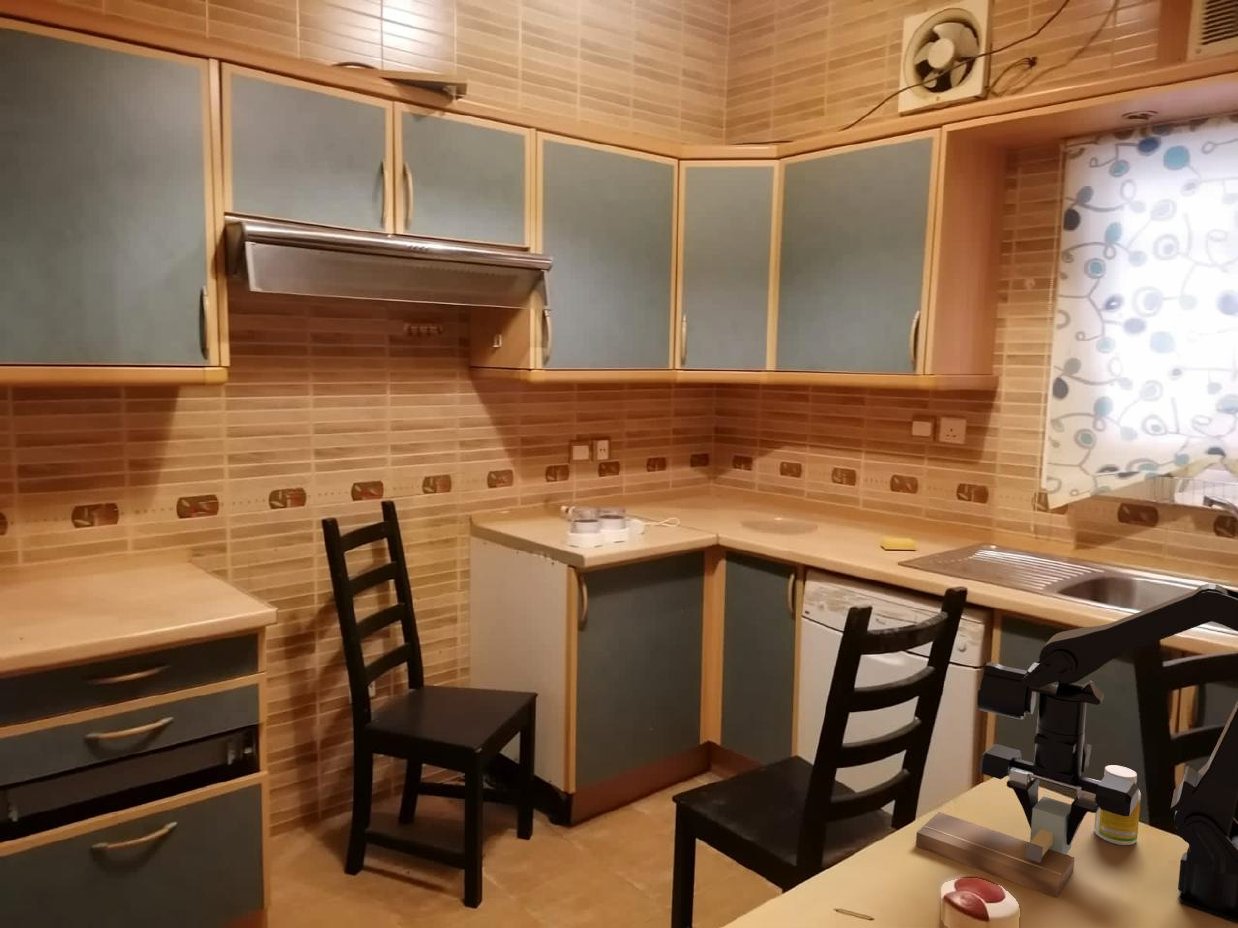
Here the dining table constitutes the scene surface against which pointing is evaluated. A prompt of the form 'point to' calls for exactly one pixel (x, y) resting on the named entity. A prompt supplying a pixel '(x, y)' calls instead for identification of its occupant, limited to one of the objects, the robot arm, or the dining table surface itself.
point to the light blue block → (1048, 828)
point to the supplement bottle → (1116, 825)
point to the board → (994, 853)
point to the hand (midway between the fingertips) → (1051, 837)
